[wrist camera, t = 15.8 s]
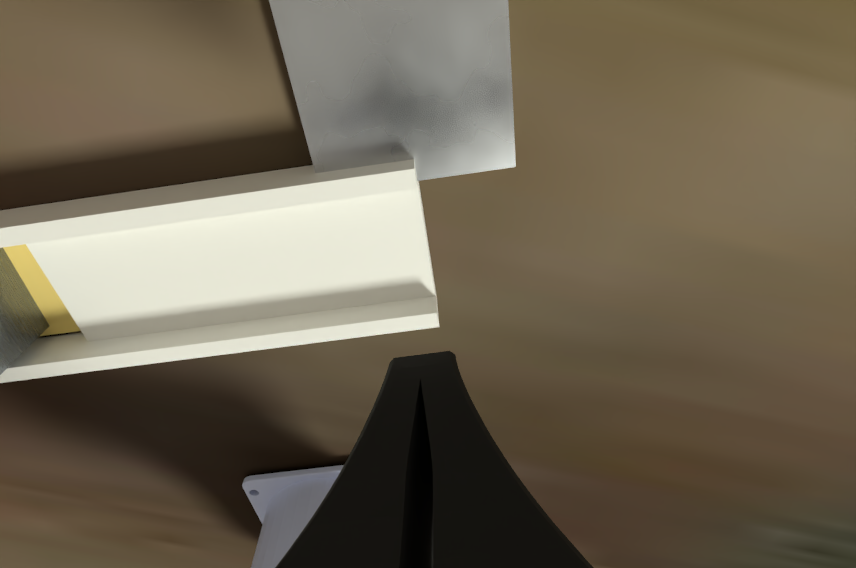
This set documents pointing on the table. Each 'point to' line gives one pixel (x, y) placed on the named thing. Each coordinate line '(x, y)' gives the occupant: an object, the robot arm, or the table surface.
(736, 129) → the table surface
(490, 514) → the robot arm
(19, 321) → the block
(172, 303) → the rail
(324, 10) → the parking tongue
